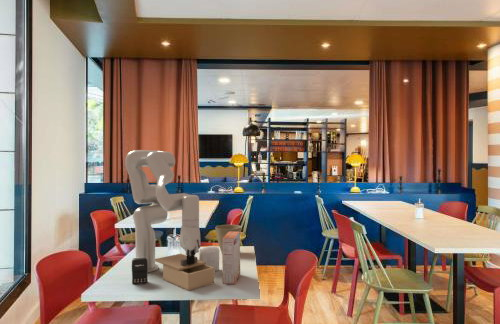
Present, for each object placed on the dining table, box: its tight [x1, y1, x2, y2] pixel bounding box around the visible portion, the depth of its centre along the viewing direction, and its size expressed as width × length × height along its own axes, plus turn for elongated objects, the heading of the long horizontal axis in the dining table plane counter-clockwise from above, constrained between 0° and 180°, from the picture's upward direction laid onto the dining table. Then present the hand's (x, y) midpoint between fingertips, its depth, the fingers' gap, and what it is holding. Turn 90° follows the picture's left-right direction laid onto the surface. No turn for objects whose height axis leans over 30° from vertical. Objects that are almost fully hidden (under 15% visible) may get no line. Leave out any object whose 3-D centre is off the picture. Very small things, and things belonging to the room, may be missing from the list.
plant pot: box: [214, 224, 242, 253], centre depth 214 cm, size 15×15×16 cm
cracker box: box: [221, 231, 241, 285], centre depth 169 cm, size 14×6×21 cm, turn 171°
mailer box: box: [162, 264, 215, 292], centre depth 166 cm, size 20×14×7 cm
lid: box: [154, 253, 206, 270], centre depth 171 cm, size 21×15×3 cm
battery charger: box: [131, 256, 149, 285], centre depth 164 cm, size 7×4×11 cm, turn 103°
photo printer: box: [198, 245, 220, 272], centre depth 181 cm, size 10×4×12 cm, turn 123°
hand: (190, 263), depth 163 cm, fingers closed
